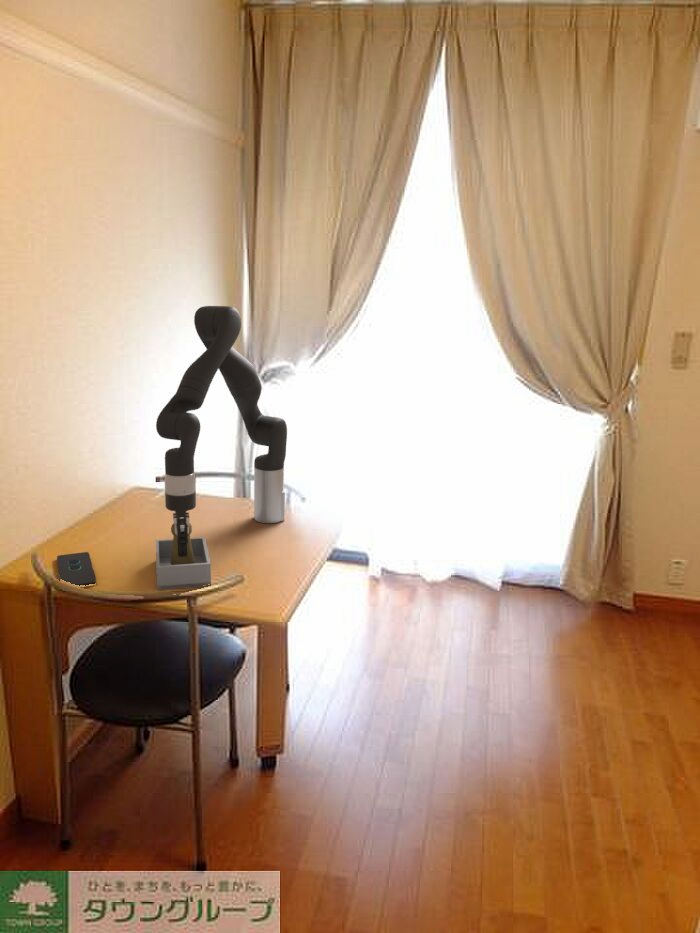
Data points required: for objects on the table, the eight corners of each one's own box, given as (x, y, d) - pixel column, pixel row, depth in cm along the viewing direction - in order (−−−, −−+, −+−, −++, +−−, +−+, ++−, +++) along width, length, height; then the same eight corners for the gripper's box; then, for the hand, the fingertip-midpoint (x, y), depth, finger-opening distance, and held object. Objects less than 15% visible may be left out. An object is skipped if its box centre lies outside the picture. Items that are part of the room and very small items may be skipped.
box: (205, 557, 190) (204, 536, 188) (210, 585, 173) (210, 563, 172) (156, 560, 186) (155, 540, 185) (157, 590, 170) (156, 567, 168)
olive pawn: (172, 557, 182) (171, 518, 179) (195, 557, 182) (194, 518, 179) (168, 567, 176) (167, 526, 173) (192, 567, 177) (191, 527, 173)
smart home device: (89, 551, 188) (97, 581, 171) (89, 556, 188) (97, 587, 171) (56, 555, 184) (60, 586, 167) (56, 561, 185) (61, 592, 168)
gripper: (197, 497, 168) (199, 562, 173) (193, 480, 181) (195, 541, 186) (165, 499, 166) (168, 565, 171) (164, 481, 179) (166, 543, 184)
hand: (182, 552), depth 178 cm, fingers closed on olive pawn, 4 cm apart
